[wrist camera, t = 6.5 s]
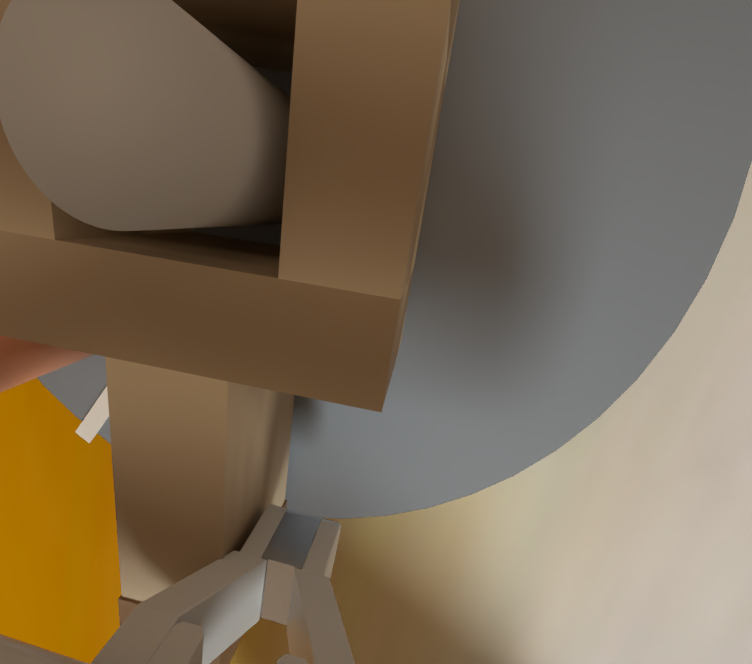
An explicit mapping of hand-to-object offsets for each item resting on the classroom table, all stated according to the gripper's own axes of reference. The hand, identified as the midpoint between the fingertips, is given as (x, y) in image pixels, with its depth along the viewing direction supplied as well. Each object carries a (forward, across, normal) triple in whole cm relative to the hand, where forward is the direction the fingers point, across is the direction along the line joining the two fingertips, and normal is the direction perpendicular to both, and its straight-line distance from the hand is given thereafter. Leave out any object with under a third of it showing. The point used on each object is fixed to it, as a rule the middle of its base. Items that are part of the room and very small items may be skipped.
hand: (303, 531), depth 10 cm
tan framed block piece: (+2, +3, -5) cm, 6 cm away
